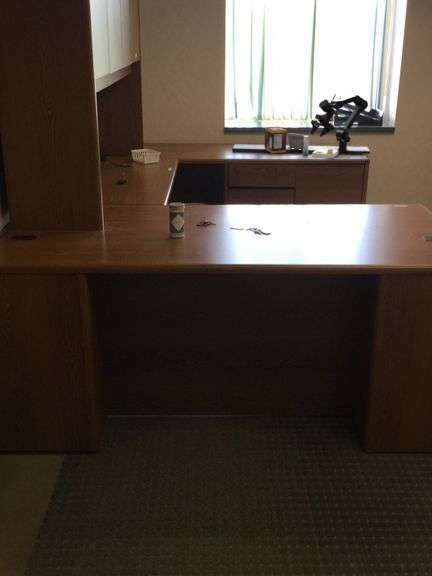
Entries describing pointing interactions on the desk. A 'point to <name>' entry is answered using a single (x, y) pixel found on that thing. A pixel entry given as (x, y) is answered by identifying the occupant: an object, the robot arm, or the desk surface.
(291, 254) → the desk surface
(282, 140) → the supplement box
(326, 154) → the gauge board
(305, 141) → the steel pin
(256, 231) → the desk surface
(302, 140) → the digital clock
